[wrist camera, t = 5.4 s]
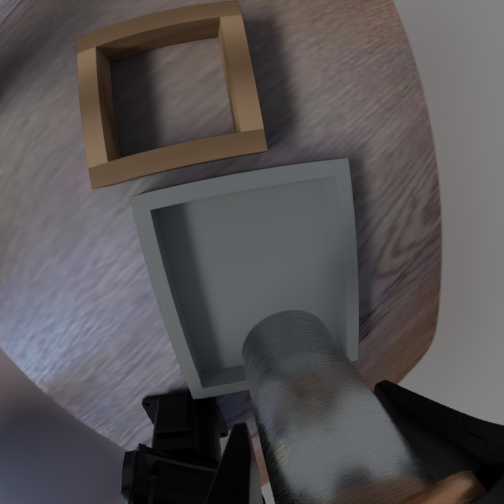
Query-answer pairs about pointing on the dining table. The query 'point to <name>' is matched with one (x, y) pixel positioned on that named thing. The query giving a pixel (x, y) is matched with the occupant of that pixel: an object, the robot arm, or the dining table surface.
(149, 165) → the square wooden frame
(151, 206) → the tray
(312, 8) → the dining table surface
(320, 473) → the glass jar
